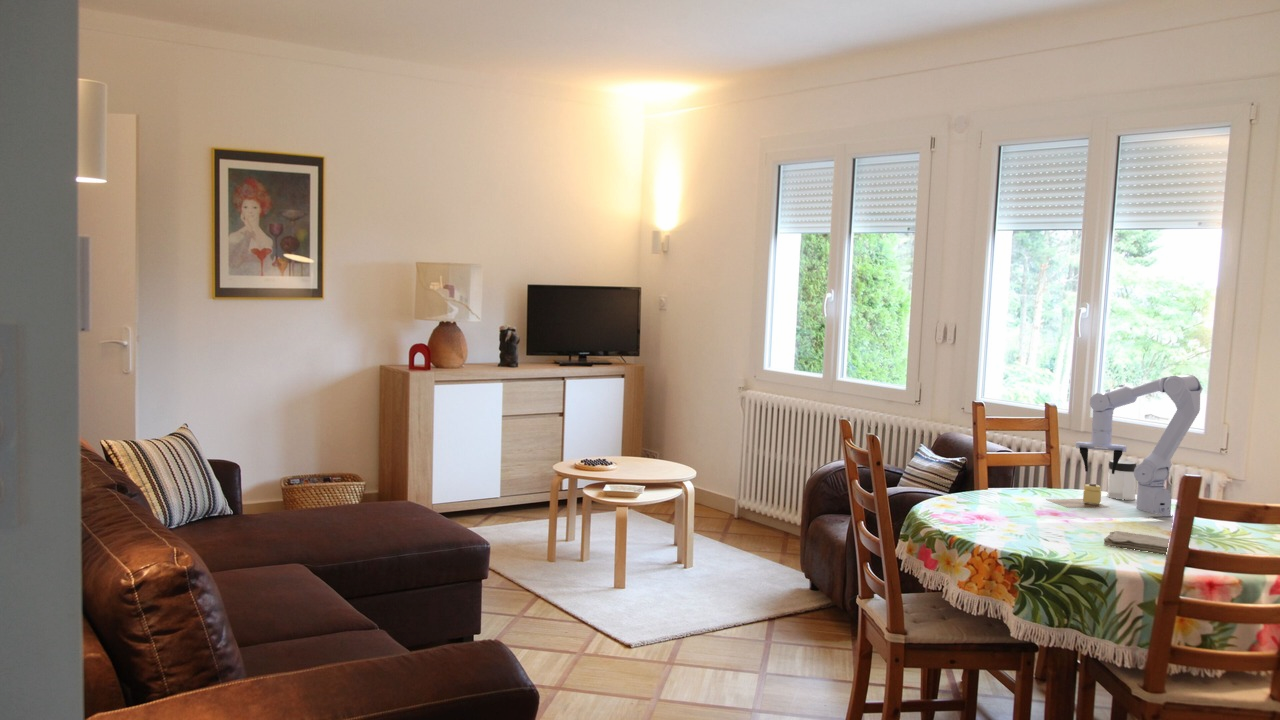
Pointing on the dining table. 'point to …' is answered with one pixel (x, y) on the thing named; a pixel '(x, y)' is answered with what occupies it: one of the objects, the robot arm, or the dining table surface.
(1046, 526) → the dining table surface
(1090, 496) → the yellow socket block
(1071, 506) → the board
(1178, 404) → the robot arm
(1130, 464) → the jar
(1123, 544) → the washcloth
